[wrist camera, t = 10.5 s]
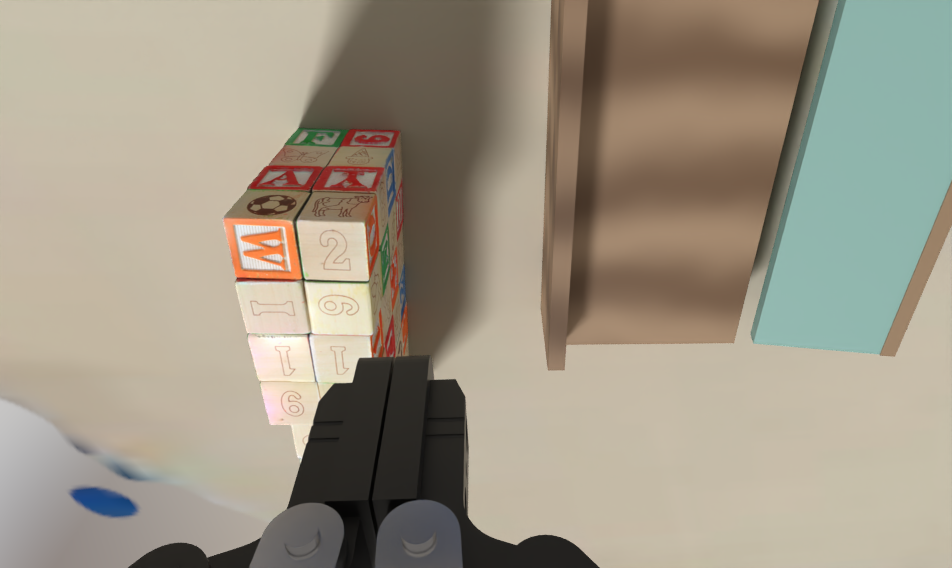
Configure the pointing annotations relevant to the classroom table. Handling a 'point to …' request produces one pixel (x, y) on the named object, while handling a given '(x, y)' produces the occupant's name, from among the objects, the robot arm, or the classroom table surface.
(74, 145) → the classroom table surface
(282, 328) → the stack of blocks
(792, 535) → the classroom table surface
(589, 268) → the cart bed
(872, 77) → the tailgate
